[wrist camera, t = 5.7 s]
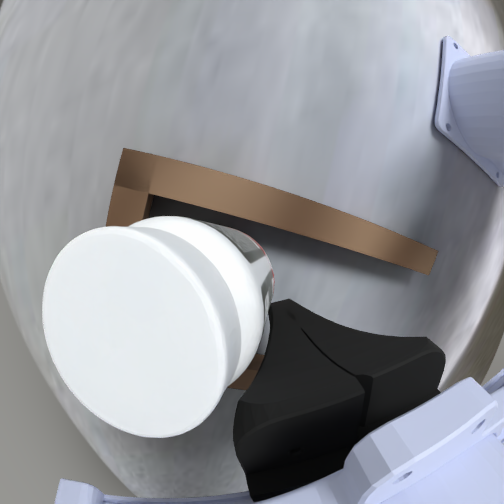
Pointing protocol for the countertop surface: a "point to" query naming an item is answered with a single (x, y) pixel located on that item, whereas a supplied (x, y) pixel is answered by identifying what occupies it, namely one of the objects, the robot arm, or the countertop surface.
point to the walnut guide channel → (252, 213)
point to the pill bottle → (156, 319)
